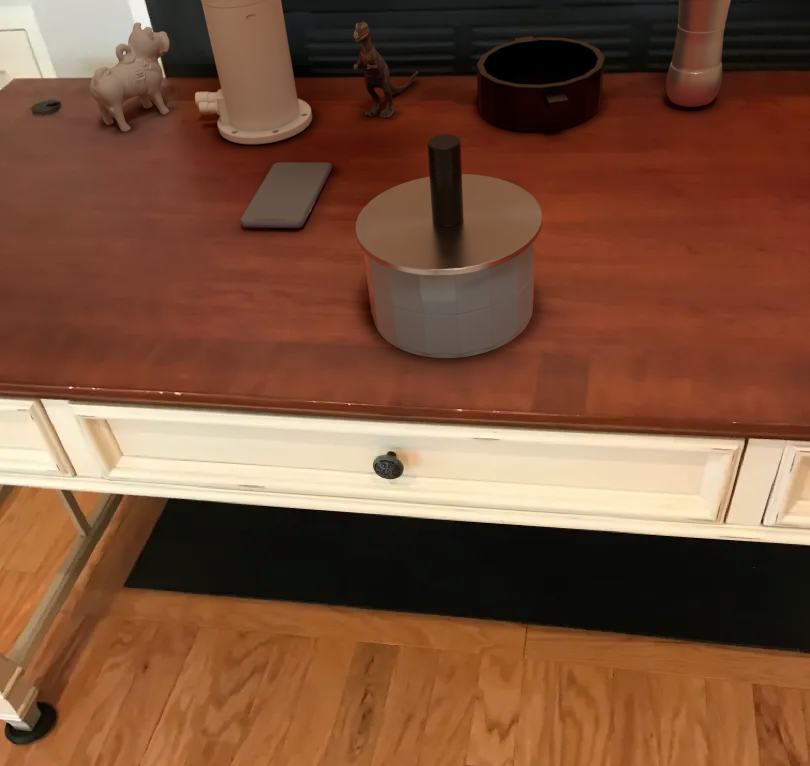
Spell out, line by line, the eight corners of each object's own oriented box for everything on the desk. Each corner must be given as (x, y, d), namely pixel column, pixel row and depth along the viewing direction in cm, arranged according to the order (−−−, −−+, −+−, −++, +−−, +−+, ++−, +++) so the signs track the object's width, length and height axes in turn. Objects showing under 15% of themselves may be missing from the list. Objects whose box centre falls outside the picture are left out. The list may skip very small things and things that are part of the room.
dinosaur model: (345, 25, 109) (396, -10, 118) (351, 124, 117) (397, 85, 127) (375, 28, 108) (424, -7, 117) (378, 129, 116) (424, 88, 126)
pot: (360, 356, 84) (347, 271, 77) (387, 265, 94) (378, 183, 88) (528, 360, 82) (529, 273, 75) (537, 266, 92) (539, 182, 85)
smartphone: (333, 161, 109) (301, 222, 99) (334, 168, 110) (303, 231, 100) (273, 161, 111) (237, 222, 101) (275, 168, 111) (238, 230, 101)
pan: (494, 149, 110) (493, 103, 106) (467, 82, 124) (465, 39, 120) (620, 132, 110) (624, 86, 106) (578, 67, 124) (581, 23, 120)
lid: (364, 294, 76) (352, 202, 70) (350, 198, 87) (338, 112, 81) (560, 267, 76) (565, 173, 70) (521, 175, 87) (522, 88, 81)
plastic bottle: (718, 113, 111) (751, -76, 96) (662, 113, 112) (685, -74, 98) (717, 91, 115) (748, -94, 100) (663, 91, 116) (685, -91, 102)
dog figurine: (192, 102, 127) (172, 19, 119) (118, 136, 122) (92, 51, 114) (169, 93, 130) (148, 12, 122) (96, 126, 124) (69, 43, 116)
